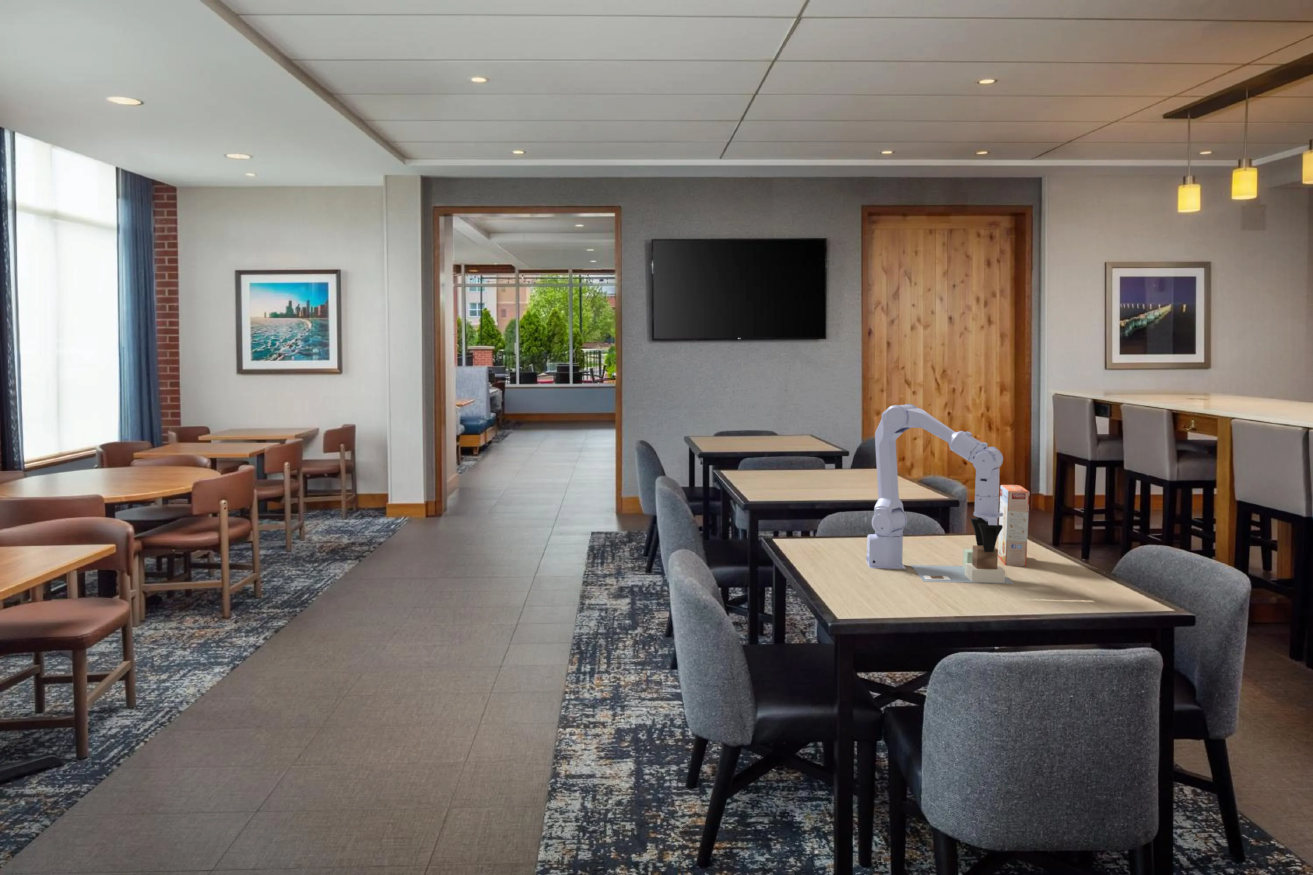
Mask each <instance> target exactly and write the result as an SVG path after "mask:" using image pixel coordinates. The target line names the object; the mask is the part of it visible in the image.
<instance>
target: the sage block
mask: <svg viewBox="0 0 1313 875" xmlns="http://www.w3.org/2000/svg"><path fill="white" fill-rule="evenodd" d="M962 550H963V553H962V554H963V556H962V557H963V558H962V566H963V568H964V569H965V563H972V553H973V548H963V549H962Z"/></svg>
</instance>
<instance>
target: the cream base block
mask: <svg viewBox="0 0 1313 875" xmlns="http://www.w3.org/2000/svg"><path fill="white" fill-rule="evenodd" d="M965 575H966V576H967V577H968V578H969V579H970V580H971V581H972V582H1005V576H1006V570H1005V569H1003V568H1002V567H1001V566H1000V565H999V563H997V569H977V568H975V567H974V566H973V565H972V563H965Z"/></svg>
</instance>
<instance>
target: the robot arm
mask: <svg viewBox="0 0 1313 875" xmlns="http://www.w3.org/2000/svg"><path fill="white" fill-rule="evenodd" d="M912 428H913V429H914V428H915V429H923V430H925V431H926V432H928V433H931V435H933V436H936V437H937V438H939V439H941V440H943V441H944V442H946V443H947V444H948V446H949V450H950V451H952V452H953V453H955V454H956V455H958V456H959V457H961V458H963V459H965V460H966V461H967V462H969V463H972V466H973V468H974V469H975V480H974V481H975V484H974V487H975V488H974V511H973V516H974V517H970V518H969V521H970V522H971V525H972V527H973V532H974V535H975V541H976V545H978V546H983V548H984V552H993V551H994V548H996V544H997V540H998V538H999V533H1000V531H1001V530H1002V528H1003V526H1002V525H999V524H998V519H999V516H1003V513H1000V512H999V507H1000V468H1001V466H1002V465H1003V461H1004V455H1003V454H1002V452H1001V451H1000V450H999V449H998V448H997V447H995V446H988V445H989V444H988V443H987V442H985V441H984V442H982V441H980V440H979V439H978V438H975V437H974V436H973V433H972V432H970V431H968V430H967V431H964V430H959V431H954V430H953V429H951V428H950V427H949V426H947V425H946V424H944V423H943V422H941V421H940V420H938V419H937V418H935V417H934V416H932V415H931V414H929V413H928V412H927V411H926V410H924V409H922V408H920V407H917V406H916V405H914V404H912V403H906V404H900V405H898V404H894V405H890V406H889V407H887V409H885V410H884V411H883V412H882V413H881V419H880V421H879V424H878V426H877V427H876V430H875V433H874V441H875V443H874V444H875V445H874V446H875V460H876V461H875V462H876V463H875V464H876V475H877V476H876V479H877V494H878V495H877V497H878V499H877V501H876V503H875V505H874V508H873V510H874V511H873V512H874V513H873V516H872V517H871V518H872V519H871V527H872V529H873V530H874V534H873V533H872V534H871V533H870V534H867V537H866V558H865V561H866V564H867V566H868V567H869V569H894V570H896V569H897V570H900V569H901V570H906V566H905V565H904V564H903V556H904V555H903V553H904V552H903V548H904V547H903V546H904V545H903V544H904V538H903V537H904V529H905V527H906V526H907V523H908V517H907V514H906V512H905V510H904V504H903V502H902V500H901V499H900V494H899V479H898V478H899V476H898V461H897V460H898V458H897V439H898V438H900V436H901V435H903V433H904V432H906V431H907V430H911V429H912Z"/></svg>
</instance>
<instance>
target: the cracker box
mask: <svg viewBox="0 0 1313 875" xmlns="http://www.w3.org/2000/svg"><path fill="white" fill-rule="evenodd" d="M1029 508H1030V491H1029V490H1027V489H1026V488H1025V487H1023V486H1021V485H1019V484H1001V485H999V513H1003V516H999V517H998V525H1002V526H1003V528H1002V530H1001V531H1000V533H999V535H998V537H997V540H998V542H997V544H998V545H997V549H998V559H999V560H1000V561H1001V562H1002V563H1003V565H1004V566H1012V567H1016V566H1017V567H1027V559H1028V558H1027V556H1028V555H1027V554H1028V534H1029V512H1030V509H1029Z"/></svg>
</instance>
